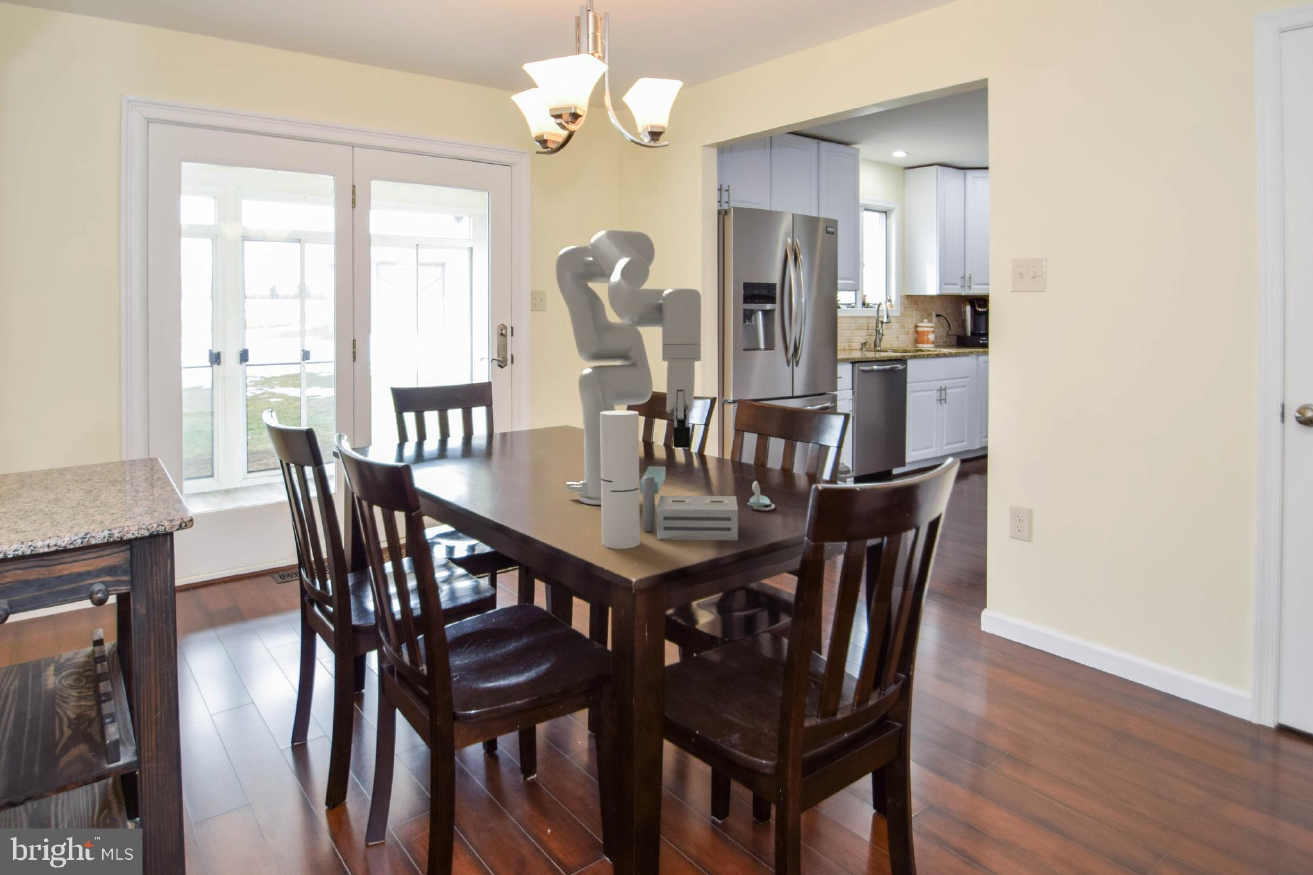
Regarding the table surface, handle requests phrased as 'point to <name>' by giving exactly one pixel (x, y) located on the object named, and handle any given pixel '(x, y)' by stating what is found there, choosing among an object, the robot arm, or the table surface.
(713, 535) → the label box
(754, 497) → the pacifier
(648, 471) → the swing bar
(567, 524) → the table surface
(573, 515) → the table surface
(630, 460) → the cylindrical container
